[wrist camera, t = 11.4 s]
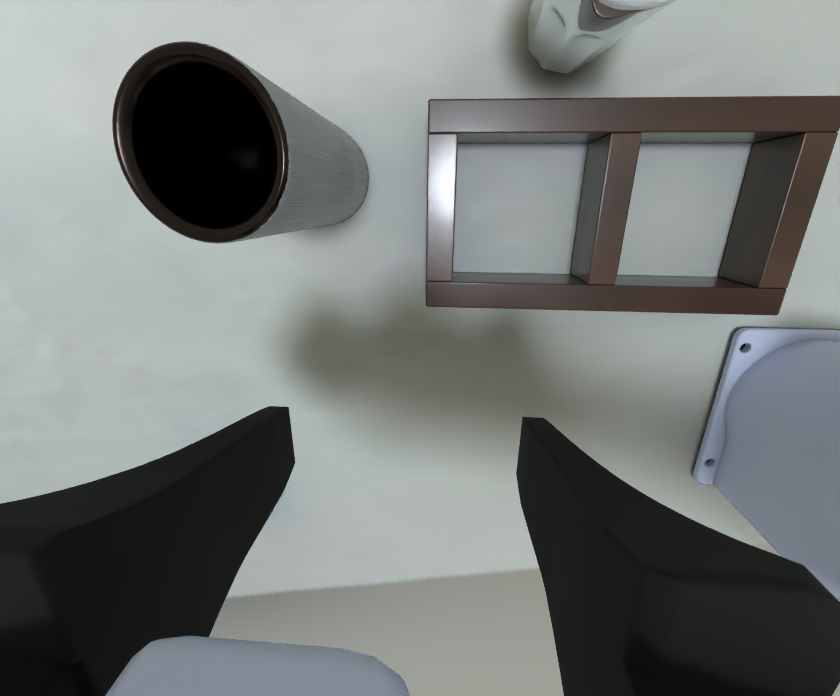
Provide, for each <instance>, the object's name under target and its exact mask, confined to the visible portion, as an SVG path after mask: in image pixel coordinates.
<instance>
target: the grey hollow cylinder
mask: <svg viewBox="0 0 840 696" xmlns="http://www.w3.org/2000/svg"><path fill="white" fill-rule="evenodd" d="M112 123H113V139H114V145H115V150H116V154H117V157H118V161H119V163H120V166H121V169H122V171H123V174H124V176H125V178H126V180H127V182H128V183H129V185H130V187H131V189H132V190H133V192H134V193H135V195H136V196H137V198H138V199H139V200H140V201H141V203H142V204H143V205H144V206H145V207H146V208H147V209H148V211H149V212H150V213H151V214H152V215H154V216H155V217H156V218H157V219H158V220H159V221H161V222H162V223H163V224H165V225H166V226H167V227H169V228H170V229H172V230H174V231H176V232H177V233H179V234H181V235H184V236H186V237H188V238H191V239H194V240H198V241H202V242H208V243H229V242H236V241H242V240H248V239H253V238H259V237H265V236H270V235H276V234H281V233H287V232H293V231H298V230H304V229H309V228H315V227H321V226H326V225H332V224H336V223H339V222H341V221H343V220H345V219H347V218H349V217H350V216H351V215H353V214H354V213H355V212H356V211H357V209H358V208H359V207H360V205H361V204H362V202H363V200H364V198H365V195H366V192H367V187H368V169H367V164H366V161H365V158H364V156H363V154H362V152H361V150H360V148H359V146H358V145H357V144H356V142H355V141H354V140H353V139H352V138H351V137H350V136H349V135H348V134H347V133H346V132H344V131H343V130H342V129H340V128H339V127H337V126H336V125H334V124H333V123H331V122H330V121H328V120H327V119H325V118H324V117H323V116H321V115H320V114H318V113H317V112H315V111H314V110H312V109H311V108H309V107H308V106H306V105H305V104H303V103H302V102H301V101H299V100H298V99H296V98H295V97H293V96H292V95H290V94H289V93H287V92H286V91H284V90H283V89H281V88H280V87H278V86H277V85H276V84H274V83H273V82H271V81H270V80H268V79H267V78H265V77H264V76H262V75H261V74H259V73H258V72H256V71H255V70H254V69H252V68H251V67H249V66H248V65H246V64H245V63H243V62H242V61H240V60H239V59H237V58H235V57H234V56H232V55H230V54H229V53H227V52H225V51H223V50H221V49H219V48H216V47H214V46H211V45H207V44H203V43H198V42H187V41H182V42H173V43H168V44H164V45H161V46H159V47H156V48H154V49H152V50H150V51H149V52H147V53H146V54H144V55H143V56H142V57H140V58H139V59H138V60H137V61H136V62H135V63H134V64H133V65H132V66H131V68H130V69H129V70H128V72H127V73H126V75H125V76H124V78H123V80H122V82H121V84H120V87H119V89H118V92H117V95H116V98H115V103H114V109H113V120H112Z"/></svg>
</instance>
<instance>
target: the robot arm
mask: <svg viewBox="0 0 840 696" xmlns="http://www.w3.org/2000/svg"><path fill="white" fill-rule="evenodd" d="M743 344H745V347H744V348H743V349H742V350H740V347H741V345H743ZM708 459H710V461H708V462H706V461H707V460H708ZM294 464H295V457H294V449H293V440H292V432H291V424H290V415H289V407H275V406H269V407H266V408H264V409H261V410H259V411H257V412H255V413H253V414H251V415H249V416H247V417H245V418H243V419H241V420H239V421H237V422H235V423H233V424H231V425H229V426H228V427H226V428H224V429H222V430H220V431H218V432H216V433H214V434H212V435H210V436H208V437H206V438H204V439H201V440H199V441H197V442H195V443H193V444H191V445H189V446H187V447H185V448H182V449H180V450H178V451H176V452H173V453H171V454H169V455H166V456H164V457H162V458H159V459H156V460H154V461H151V462H149V463H146V464H144V465H141V466H138V467H135V468H133V469H130V470H127V471H124V472H120V473H117V474H114V475H111V476H108V477H105V478H102V479H99V480H96V481H93V482H89V483H86V484H82V485H79V486H75V487H71V488H68V489H64V490H60V491H56V492H52V493H48V494H44V495H40V496H36V497H31V498H27V499H22V500H17V501H12V502H7V503H2V504H0V696H410V694H409V692H408V689H407V687H406V684H405V682H404V680H403V679H402V678H401V677H400V675H399V674H397V673H396V672H395V671H393V670H392V669H390V668H389V667H388V666H387V665H385V664H384V663H382V662H381V661H380V660H378V659H377V658H376V657H373V656H369V655H366V654H362V653H358V652H354V651H351V650H347V649H343V648H331V647H321V646H308V645H296V644H284V643H272V642H260V641H246V640H235V639H222V638H210V637H209V635H210V633H211V630H212V628H213V626H214V623H215V621H216V618H217V616H218V614H219V612H220V609H221V607H222V605H223V603H224V600H225V598H226V596H227V594H228V592H229V589H230V587H231V585H232V583H233V581H234V579H235V576H236V574H237V572H238V570H239V568H240V566H241V564H242V562H243V560H244V559H245V557H246V555H247V553H248V551H249V550H250V548H251V546H252V545H253V543H254V541H255V539H256V538H257V536H258V534H259V533H260V531H261V529H262V528H263V526H264V524H265V522H266V521H267V519H268V517H269V516H270V514H271V512H272V510H273V509H274V507H275V505H276V504H277V502H278V500H279V498H280V497H281V495H282V493H283V491H284V489H285V487H286V484H287V482H288V480H289V477H290V474H291V472H292V469H293V467H294ZM516 474H517V481H518V488H519V495H520V501H521V506H522V509H523V513H524V516H525V520H526V523H527V527H528V530H529V534H530V537H531V540H532V544H533V547H534V551H535V554H536V557H537V561H538V564H539V568H540V571H541V574H542V578H543V583H544V587H545V591H546V596H547V601H548V606H549V611H550V617H551V622H552V627H553V633H554V638H555V645H556V650H557V656H558V662H559V667H560V673H561V679H562V686H563V692H564V696H832V695H833V693H834V691H835V689H836V688H837V686H838V684H839V682H840V602H839V601H838V600H840V330H820V329H783V328H741V329H739V330H738V331H737V332H736V333H735V334H734V336H733V339H732V342H731V346H730V349H729V353H728V356H727V359H726V363H725V366H724V370H723V373H722V376H721V380H720V383H719V387H718V390H717V393H716V397H715V400H714V404H713V407H712V410H711V414H710V417H709V421H708V424H707V427H706V431H705V434H704V438H703V441H702V444H701V448H700V451H699V455H698V458H697V461H696V465H695V468H694V472H693V477H694V479H695V480H696V481H697V482H699V483H701V484H714V485H715V486H716V487H717V488H718V489H719V491H720V492H721V493H722V494H723V495H724V496H725V497H726V498H727V499H728V500H729V501H730V502H731V503H732V504H733V505H734V506H735V508H736V509H737V510H738V511H739V512H740V513H741V514H742V515H743V516H744V517H745V518H746V519H747V520H748V521H749V522H750V523H751V525H752V526H753V527H754V528H755V529H756V530H757V531H758V532H759V533H760V534H761V535H762V536H763V537H764V538H765V539H766V540H767V542H768V543H769V544H770V545H771V546H772V547H773V548H774V549H775V550H776V551H777V552H778V553H779V554H780V555H781V556H782V557H780V556H778V555H775V554H773V553H770V552H767V551H765V550H762V549H759V548H757V547H754V546H751V545H748V544H746V543H743V542H741V541H738V540H736V539H734V538H731V537H729V536H727V535H724V534H722V533H720V532H718V531H715V530H713V529H711V528H708V527H706V526H704V525H702V524H700V523H698V522H696V521H694V520H691V519H689V518H687V517H685V516H683V515H681V514H679V513H678V512H676V511H674V510H672V509H670V508H668V507H666V506H664V505H662V504H660V503H659V502H657V501H655V500H653V499H652V498H650V497H648V496H646V495H645V494H643V493H641V492H640V491H638V490H637V489H635V488H633V487H632V486H630V485H629V484H627V483H625V482H624V481H622V480H621V479H619V478H618V477H616V476H615V475H613V474H612V473H611V472H609V471H608V470H607V469H605V468H604V467H603V466H601V465H600V464H598V463H597V462H596V461H594V460H593V459H592V458H591V457H589V456H588V455H587V454H586V453H584V452H583V451H582V450H581V449H580V448H578V447H577V446H576V445H575V444H574V443H572V442H571V441H570V440H569V439H568V438H567V437H565V436H564V435H563V434H562V433H561V432H560V431H559V430H557V429H556V428H555V427H554V426H553V425H552V424H550V423H549V422H548V421H547V420H546V419H544V418H535V417H523V419H522V428H521V437H520V446H519V455H518V464H517V473H516ZM836 598H837V599H838V600H837V599H836Z"/></svg>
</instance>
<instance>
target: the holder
mask: <svg viewBox="0 0 840 696" xmlns="http://www.w3.org/2000/svg"><path fill="white" fill-rule="evenodd" d="M839 128H840V96H748V97H635V98H522V99H430V100H429V101H428V133H429V134H428V172H427V249H426V306H427V307H464V308H504V309H544V310H584V311H624V312H664V313H704V314H744V315H778V314H779V311H780V308H781V305H782V301H783V298H784V295H785V292H786V289H785V288H787V287H788V284H789V281H790V278H791V275H792V272H793V269H794V266H795V263H796V259H797V256H798V253H799V250H800V247H801V244H802V241H803V238H804V235H805V232H806V229H807V226H808V223H809V220H810V217H811V214H812V211H813V208H814V205H815V202H816V199H817V196H818V193H819V190H820V187H821V184H822V180H823V177H824V174H825V171H826V168H827V165H828V162H829V159H830V156H831V153H832V150H833V147H834V144H835V141H836V138H837V135H838V133H837V131H839ZM711 142H755V143H754V144H753V147H752V151H751V154H750V158H749V162H748V166H747V169H746V173H745V177H744V181H743V185H742V188H741V192H740V196H739V200H738V203H737V207H736V211H735V215H734V218H733V222H732V226H731V230H730V233H729V237H728V241H727V245H726V248H725V252H724V256H723V260H722V264H721V267H720V271H719V275H718V277H679V276H627V275H617V271H618V265H619V260H620V254H621V249H622V243H623V237H624V232H625V226H626V220H627V215H628V209H629V204H630V198H631V192H632V187H633V181H634V175H635V170H636V164H637V159H638V153H639V147H640V143H711ZM457 143H589V144H588V149H587V156H586V163H585V171H584V178H583V185H582V193H581V200H580V207H579V214H578V222H577V229H576V236H575V243H574V251H573V258H572V265H571V272H570V273H571V274H523V273H471V272H453V251H454V223H455V195H456V167H457Z"/></svg>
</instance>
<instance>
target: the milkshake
mask: <svg viewBox="0 0 840 696" xmlns="http://www.w3.org/2000/svg"><path fill="white" fill-rule="evenodd" d="M674 1H676V0H533V1H532V5H531V9H530V13H529V17H528V42H529V51H530V52H531V54H532V55H533V56H534V58H535V59H536V60H537V62H538V63H539V64H540V66H541V67H542V68H543V70H548V71H554V72H559V73H564V74H567V73H569V72H571V71H573V70H575V69H576V68H578V67H580V66H582V65H584V64H586V63H588V62H589V61H591V60H592V59H594V58H595V57H596V56H598V55H599V54H600V53H602V52H603V51H604V50H606V49H607V48H608V47H610V46H611V45H612V44H614V43H615V42H617V41H618V40H619V39H621V38H622V37H623V36H625V35H626V34H627V33H629V32H630V31H631V30H633V29H634V28H635V27H637V26H638V25H639V24H641V23H643V22H644V21H646V20H647V19H649V18H650V17H652V16H653V15H655V14H656V13H658V12H659V11H661V10H662V9H664V8H665V7H667V6H668V5H670V4H671V3H673V2H674Z"/></svg>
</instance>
